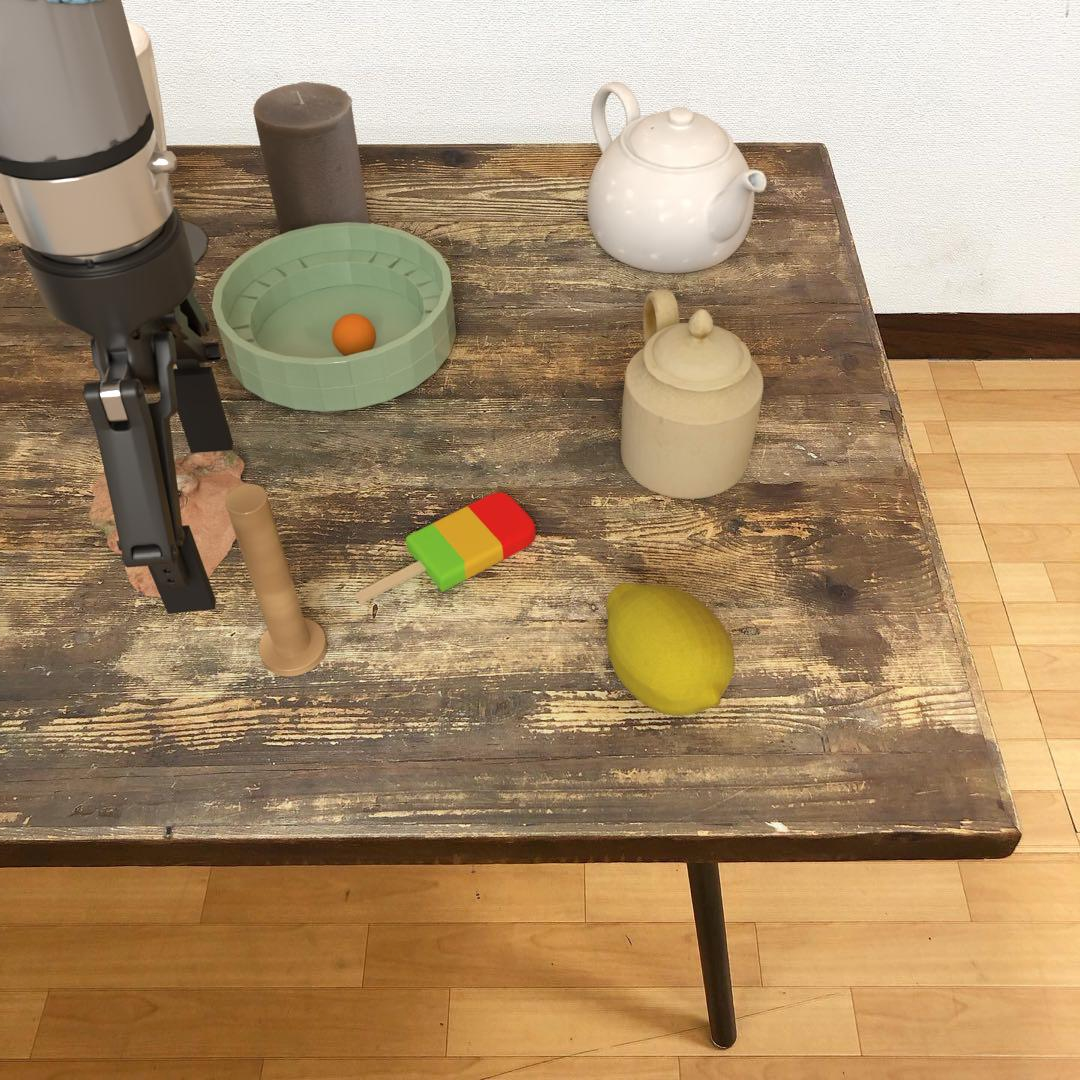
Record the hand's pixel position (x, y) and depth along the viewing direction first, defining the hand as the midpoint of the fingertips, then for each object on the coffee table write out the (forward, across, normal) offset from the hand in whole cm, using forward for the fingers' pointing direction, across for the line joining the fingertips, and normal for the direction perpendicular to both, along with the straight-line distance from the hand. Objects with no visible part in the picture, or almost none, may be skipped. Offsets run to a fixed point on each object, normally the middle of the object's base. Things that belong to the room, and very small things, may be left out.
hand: (203, 522), depth 67 cm
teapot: (+14, +50, -40) cm, 66 cm away
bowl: (+14, +36, -6) cm, 39 cm away
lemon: (+14, -6, -30) cm, 33 cm away
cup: (+14, +54, +14) cm, 58 cm away
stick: (+14, 0, -3) cm, 15 cm away
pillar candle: (+14, +56, -4) cm, 58 cm away
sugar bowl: (+14, +18, -34) cm, 41 cm away
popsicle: (+14, +7, -15) cm, 22 cm away
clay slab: (+14, +15, +6) cm, 22 cm away
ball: (+12, +33, -8) cm, 36 cm away
